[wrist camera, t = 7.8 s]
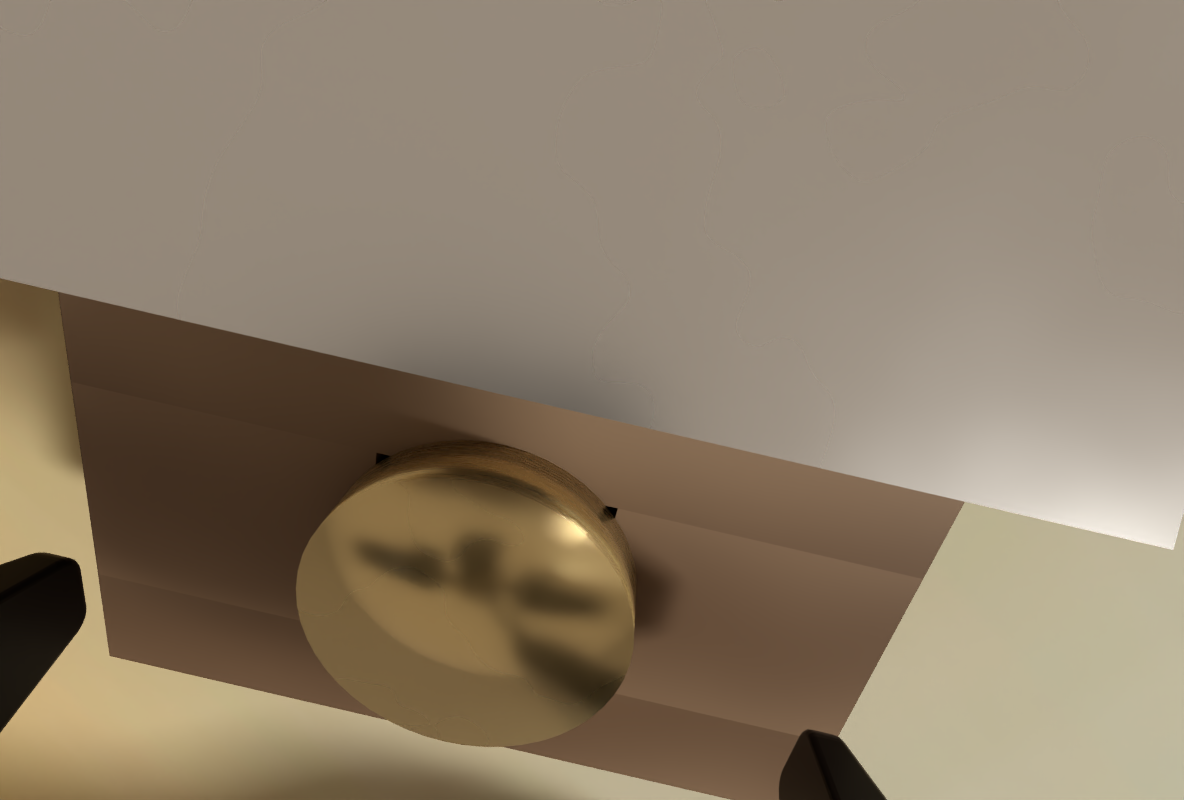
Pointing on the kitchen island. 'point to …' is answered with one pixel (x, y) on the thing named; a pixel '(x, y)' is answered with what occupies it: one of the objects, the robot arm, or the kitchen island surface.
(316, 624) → the gold metal dome
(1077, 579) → the kitchen island surface
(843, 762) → the robot arm
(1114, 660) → the kitchen island surface
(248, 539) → the brown box
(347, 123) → the steel flap
